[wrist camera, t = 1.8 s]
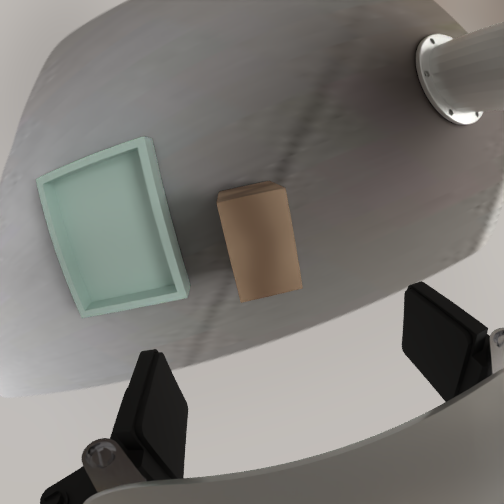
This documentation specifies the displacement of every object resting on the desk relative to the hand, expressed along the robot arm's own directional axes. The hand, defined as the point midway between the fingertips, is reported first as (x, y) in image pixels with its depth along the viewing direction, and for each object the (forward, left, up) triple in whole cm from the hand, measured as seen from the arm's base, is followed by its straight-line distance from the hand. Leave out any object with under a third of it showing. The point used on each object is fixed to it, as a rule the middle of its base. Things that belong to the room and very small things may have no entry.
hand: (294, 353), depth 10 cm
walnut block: (0, 0, -21) cm, 21 cm away
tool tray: (+14, -3, -20) cm, 25 cm away
